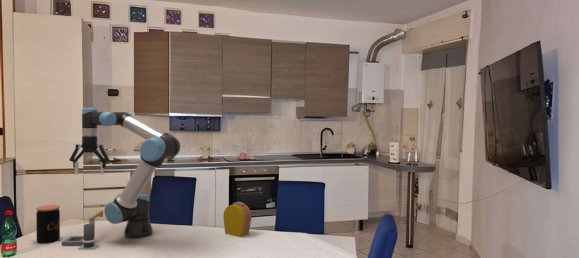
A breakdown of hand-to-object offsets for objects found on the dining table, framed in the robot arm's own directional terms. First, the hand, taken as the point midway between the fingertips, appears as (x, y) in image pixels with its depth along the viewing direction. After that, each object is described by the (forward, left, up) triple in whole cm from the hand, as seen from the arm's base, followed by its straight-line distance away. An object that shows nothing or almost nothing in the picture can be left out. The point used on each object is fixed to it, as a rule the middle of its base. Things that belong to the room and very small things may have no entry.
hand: (89, 174), depth 218 cm
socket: (-1, +12, -35) cm, 37 cm away
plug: (-7, +19, -34) cm, 40 cm away
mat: (-7, +19, -35) cm, 40 cm away
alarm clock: (-82, -2, -35) cm, 89 cm away
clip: (-6, +6, -24) cm, 25 cm away
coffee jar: (+18, +8, -35) cm, 40 cm away
